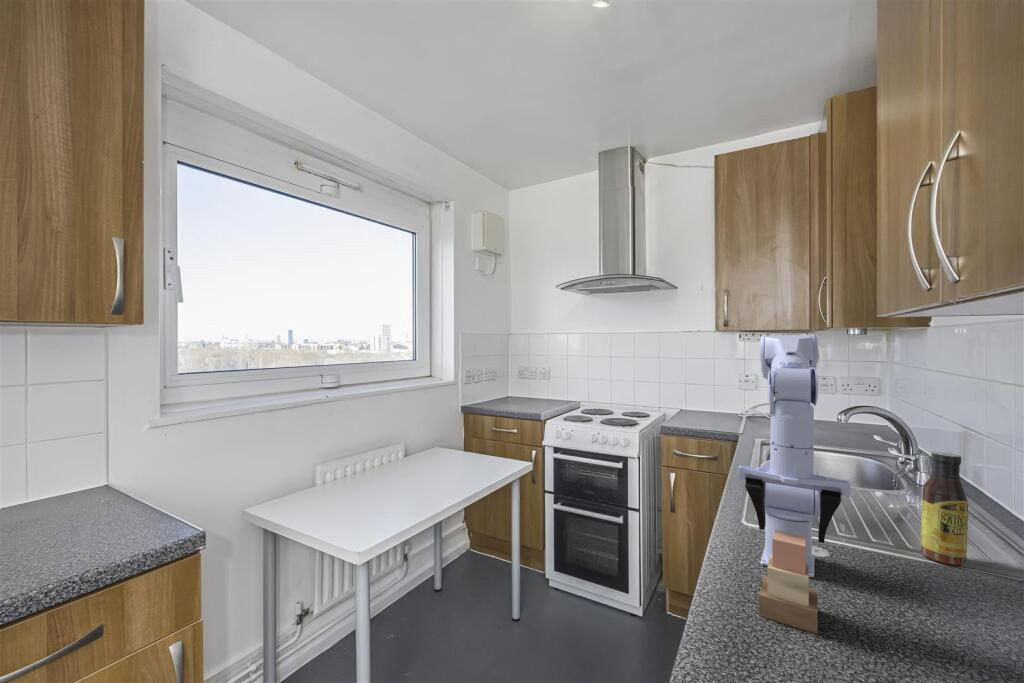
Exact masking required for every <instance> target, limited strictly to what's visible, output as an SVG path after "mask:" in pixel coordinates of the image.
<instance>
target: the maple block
mask: <svg viewBox="0 0 1024 683" xmlns="http://www.w3.org/2000/svg"><path fill="white" fill-rule="evenodd" d="M766 572H767V575H766V576H767V595H768V596H772V597H775V598H779V599H782V600H786V601H790V602H793V603H797V604H800V605H804V606H807V607H809V587H810V584H809V583H810V577H809V564H808V563H806V570H805V575H803V574H799V573H795V572H791V571H788V570H784V569H780V568H776V567H772V555H770V556H769V562H768V566H767V571H766Z"/></svg>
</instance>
